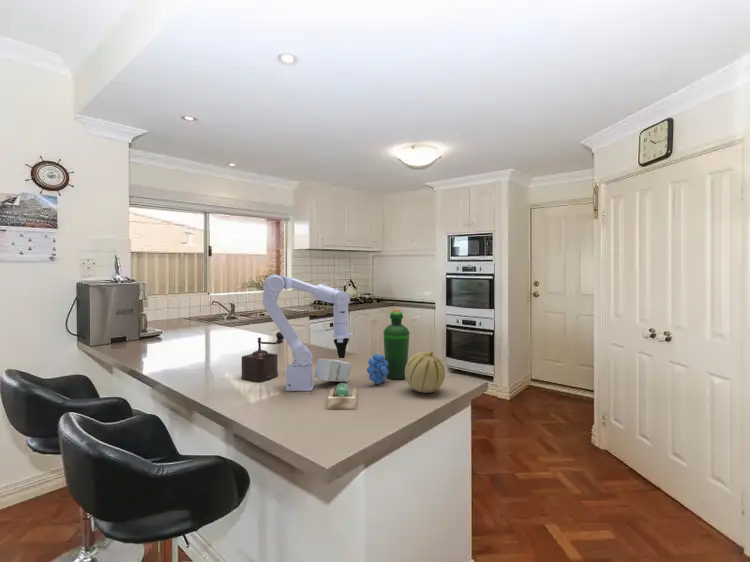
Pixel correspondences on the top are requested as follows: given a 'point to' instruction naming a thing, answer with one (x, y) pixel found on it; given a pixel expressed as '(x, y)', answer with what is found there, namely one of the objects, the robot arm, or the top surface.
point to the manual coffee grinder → (261, 363)
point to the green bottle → (341, 390)
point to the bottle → (396, 346)
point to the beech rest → (342, 401)
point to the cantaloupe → (425, 372)
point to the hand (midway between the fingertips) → (341, 357)
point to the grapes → (377, 368)
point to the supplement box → (332, 370)
